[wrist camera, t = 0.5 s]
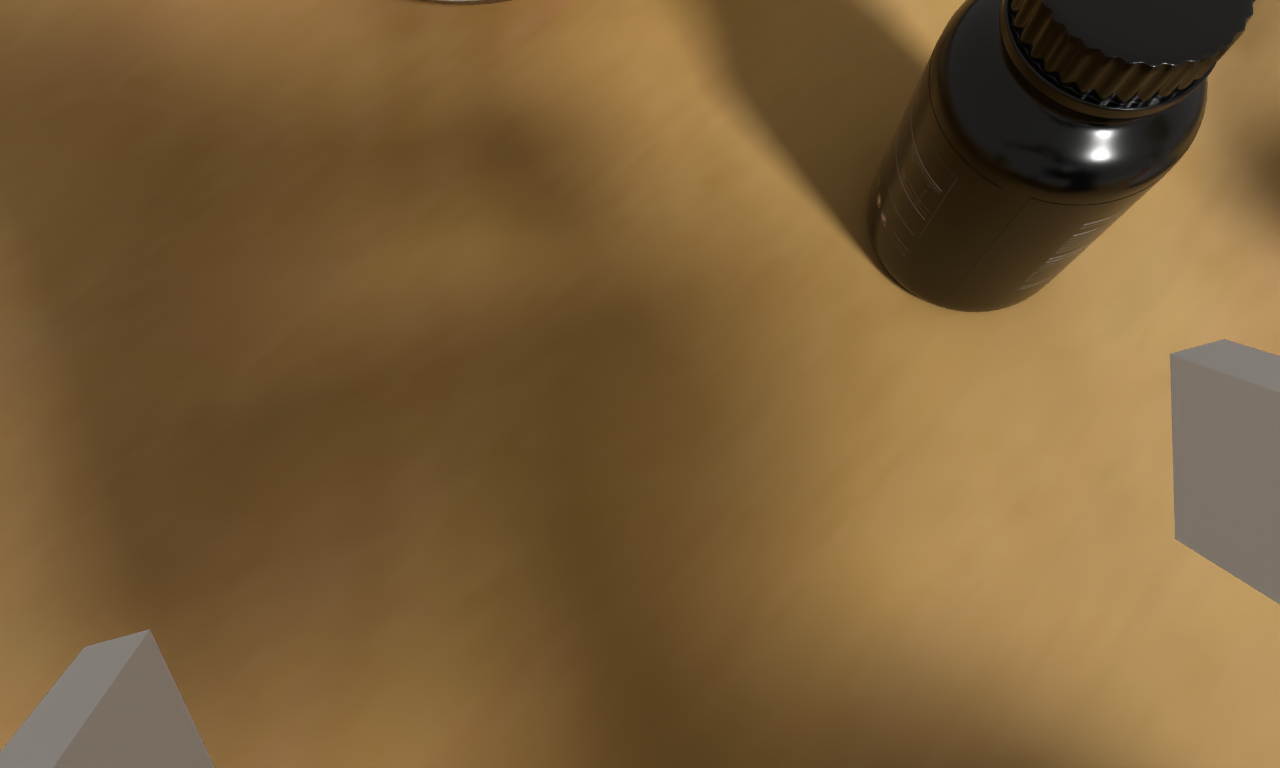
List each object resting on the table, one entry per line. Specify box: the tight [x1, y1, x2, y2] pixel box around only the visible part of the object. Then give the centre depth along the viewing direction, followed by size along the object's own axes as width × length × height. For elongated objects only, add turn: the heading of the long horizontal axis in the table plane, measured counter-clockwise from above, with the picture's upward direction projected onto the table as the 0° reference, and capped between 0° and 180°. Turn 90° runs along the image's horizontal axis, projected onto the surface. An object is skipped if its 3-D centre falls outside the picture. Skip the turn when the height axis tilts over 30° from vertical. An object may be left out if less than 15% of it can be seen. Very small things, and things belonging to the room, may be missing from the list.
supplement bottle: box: [867, 0, 1255, 312], centre depth 24 cm, size 7×7×12 cm
